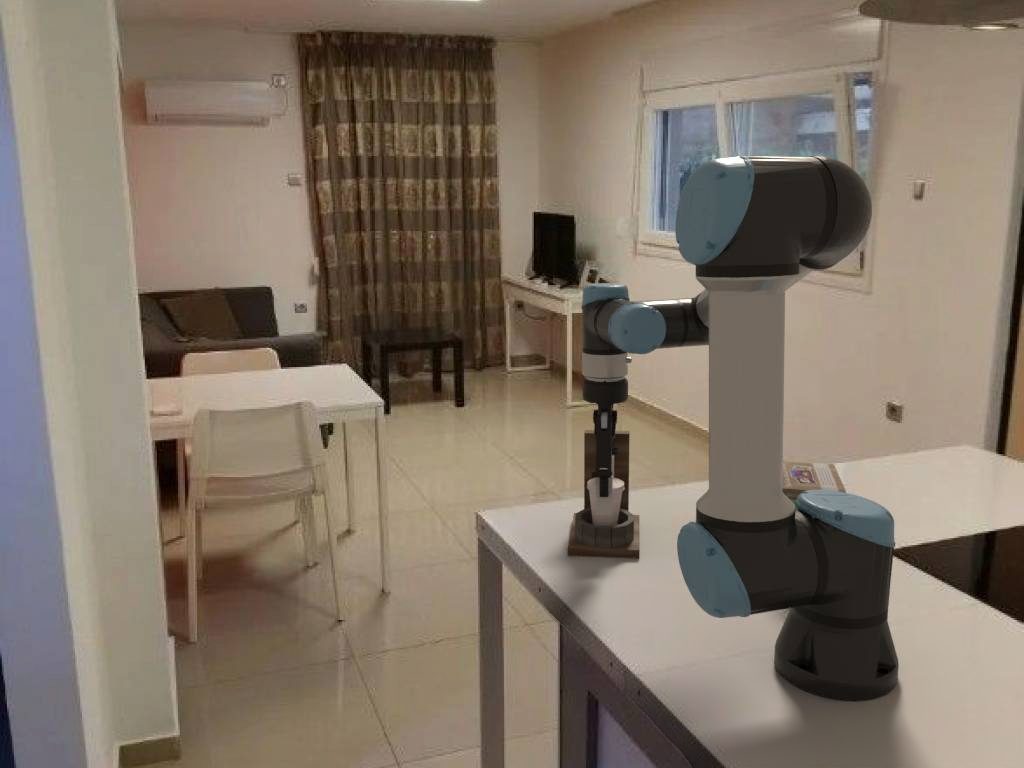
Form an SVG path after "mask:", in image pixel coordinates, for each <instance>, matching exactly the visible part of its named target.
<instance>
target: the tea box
mask: <svg viewBox="0 0 1024 768" xmlns="http://www.w3.org/2000/svg"><path fill="white" fill-rule="evenodd" d="M807 490H831V491H838V492H844V493H847V491H846V488H845V486H844V483H843V481H842V479H841V477H840V475H839V473H838V470H837V468H836V466H835V464H834V463H817V462H816V463H815V462H797V461H796V462H795V461H783V487H782V491H783V493H784V494H785V495H786V496H787V497H788V498H789V499H790V500H791V501H792V502H793V503H794V504H795V502H796V501H797V498H798V496H799V495H800V494H801V493H802V492H804V491H807ZM796 509H797V506H796V504H795V510H796Z"/></svg>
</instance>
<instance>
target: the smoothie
mask: <svg viewBox="0 0 1024 768" xmlns="http://www.w3.org/2000/svg"><path fill="white" fill-rule="evenodd" d="M603 469H606V468H603ZM587 489H588V490H589V494H590V503H591V511H592V520H593V524H594V525H597V526H613V525H617V523H618V517H619V510H620V503H621V497H622V491H623V490H624V482H623V481H622V480H620V479H617V478H613V489H612V515H596V478H592V479H590V480H589V481H588V482H587Z"/></svg>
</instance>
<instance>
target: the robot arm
mask: <svg viewBox="0 0 1024 768" xmlns="http://www.w3.org/2000/svg"><path fill="white" fill-rule="evenodd" d="M872 216H873V203H872V198H871V193H870V190H869V189H868V186H867V184H866V183H865V181H864V180H863V178H862V177H861V175H860V174H859V173H858V172H857V171H856V170H855V169H853V167H850V166H849V165H848V164H846V163H844V162H843V161H841V160H839V159H836V158H832V157H828V156H821V155H808V156H751V155H749V156H744V155H742V156H740V155H737V156H734V157H723V158H715V159H710V160H707V161H704V162H703V163H702V164H700V165H699V166H697V167H696V168H695V169H694V170H693V171H692V173H691V174H690V175H689V177H688V179H687V181H686V183H685V184H684V186H683V188H682V191H681V193H680V196H679V200H678V203H677V208H676V216H675V221H674V226H675V228H674V229H675V234H674V235H675V240H676V241H675V242H676V243H677V244H678V251H679V254H680V255H681V257H682V258H683V260H684V261H686V262H688V263H690V264H692V265H693V266H695V279H696V280H697V282H699V284H700V285H701V286H703V288H704V289H703V290H702V291H701V292H700V293H699V294H697V295H696V296H694V297H686V298H672V299H671V298H670V299H659V300H658V299H656V300H655V299H653V300H640V301H639V300H638V301H637V300H635V301H631V299H630V296H629V289H628V287H627V285H626V284H624V283H614V282H612V283H611V282H604V283H603V282H602V283H601V282H600V283H589V284H588V285H585V287H584V288H583V290H582V303H581V306H580V308H581V316H582V317H581V318H582V322H581V323H582V351H581V355H582V357H581V359H582V360H581V363H582V365H581V366H582V367H581V369H582V372H581V373H582V375H583V377H584V379H583V380H582V399H583V400H584V401H585V402H587V403H590V404H596V405H597V409H593V412H592V423H593V425H594V426H593V427H594V428H593V430H594V436H595V438H596V471H595V472H592V477H596V515H612V489H613V478H614V455H612V454H618V448H613V447H614V438H615V431H616V429H617V428H616V427H617V423H618V409H614V405H615V404H621V403H624V402H626V401H628V399H629V379H628V378H627V376H628V373H629V366H628V364H631V363H632V362H633V359H632V357H630V356H629V357H628V355H629V354H632V355H635V354H636V355H646V354H650V353H652V352H654V351H655V350H659V349H661V350H662V349H673V348H682V347H683V348H684V347H686V348H687V347H700V346H703V347H704V346H708V490H707V491H706V492H704V493H703V495H702V496H700V497H699V498H698V499H697V500H696V503H695V512H696V513H695V521H689V522H687V524H686V523H685V524H684V525H683V526H682V527H681V528H680V529H679V533H678V535H677V538H676V539H677V540H676V541H677V542H676V543H677V544H676V549H677V550H676V551H677V557H678V558H677V559H678V563H679V568H680V570H681V574H682V577H683V580H684V582H685V585H686V587H687V588H688V589H687V590H688V591H689V593H690V595H691V597H692V598H693V600H694V602H695V603H696V604H697V605H698V606H699V608H700V609H701V610H702V611H703V612H705V613H706V614H708V615H709V616H711V617H714V618H718V619H724V618H725V619H726V618H733V617H734V618H737V617H741V618H748V617H749V616H751V615H752V616H753V615H758V614H764V613H769V612H770V613H771V612H775V611H780V610H781V611H782V610H787V609H789V610H788V613H787V615H786V617H785V620H784V622H783V625H782V626H781V629H780V631H779V633H778V637H776V641H775V644H774V653H773V654H774V656H773V660H774V661H773V663H774V666H775V669H776V671H777V672H778V673H779V674H780V676H782V677H783V678H784V679H785V680H786V681H787V682H789V683H790V684H792V685H794V686H795V687H798V688H799V689H801V690H804V691H807V692H809V693H812V694H814V695H818V696H821V697H825V698H829V699H836V700H842V701H843V700H845V701H863V700H871V699H875V698H876V699H877V698H880V697H882V696H885V695H886V694H888V693H890V692H891V691H892V690H893V689H895V687H896V686H897V683H898V678H899V658H898V656H897V649H896V647H895V643H894V640H893V636H892V633H891V628H890V627H889V626H890V625H889V623H888V622H889V621H888V617H889V616H888V615H889V605H890V604H889V603H890V592H891V591H890V590H891V580H892V579H891V578H892V570H893V559H894V551H895V548H896V542H895V519H894V516H893V515H892V513H891V512H890V511H889V510H888V509H887V508H886V507H884V506H883V505H882V504H880V503H877V502H876V501H873V500H871V499H870V498H869V499H868V498H867V497H863V496H859V495H857V494H852V493H848V492H846V493H844V492H838V491H831V490H807V491H804V492H802V493H801V494H800V495H799V496H798V498H797V501H796V502H795V504H796V506H797V509H796V510H795V504H794V503H793V502H792V501H791V500H790V499H789V498H788V497H787V496H786V495H785V494H784V493H783V491H782V487H783V462H784V461H783V460H784V413H785V412H784V410H785V409H784V408H785V407H784V406H785V403H784V397H785V392H784V391H785V334H786V333H785V329H786V328H785V327H786V324H785V322H786V321H785V320H786V318H785V317H786V291H788V290H789V289H791V288H792V287H793V286H795V284H797V283H798V282H800V281H801V280H803V279H805V277H807V276H808V275H809V274H811V273H813V272H814V271H817V272H818V271H824V270H828V269H831V268H832V267H834V266H835V265H837V264H838V263H839V262H841V261H842V260H844V259H846V258H847V257H848V256H849V255H850V254H852V253H853V252H854V251H855V250H856V249H857V248H858V247H859V246H860V244H861V243H862V242H863V240H864V238H865V237H866V235H867V233H868V232H869V231H868V230H869V228H870V224H871V222H872ZM603 468H606V469H603Z"/></svg>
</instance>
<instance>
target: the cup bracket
mask: <svg viewBox="0 0 1024 768" xmlns="http://www.w3.org/2000/svg"><path fill="white" fill-rule="evenodd" d="M630 431H631V430H615V438H614V447H613V448H618V454H612V455H614V478H617V479H620V480H622V481H623V482H624V490H623V491H622V497H621V503H620V510H619V517H618V523H617V525H613V526H597V525H594V524H593V520H592V511H591V503H590V494H589V490H588V489H587V482H588V481H589V480H590V479H592V478H596V477H592V472H595V471H596V438H595V436H594V429H585V430H584V434H583V435H584V436H583V439H584V442H583V443H584V446H583V447H584V448H583V449H584V453H583V455H584V457H583V458H584V459H583V461H584V463H583V465H584V466H583V468H584V475H583V476H584V477H583V479H584V480H583V481H584V482H583V484H584V485H583V487H584V489H583V493H584V494H583V495H584V496H583V497H584V499H583V500H584V501H583V504H584V505H583V507H584V508H583V509H582V510H580V511H577V512H574V513H573V516H572V523H571V527H570V532H569V539H568V542H567V543H568V544H567V556H569V557H571V556H573V557H590V558H591V557H592V558H593V557H594V558H616V559H617V558H618V559H619V558H621V559H640V556H641V555H640V547H641V546H640V545H641V542H640V538H641V537H640V515H639V514H633V513H632V512H630V511H629V502H630V500H629V497H630V495H629V493H630V435H631V434H630V433H631V432H630Z"/></svg>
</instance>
